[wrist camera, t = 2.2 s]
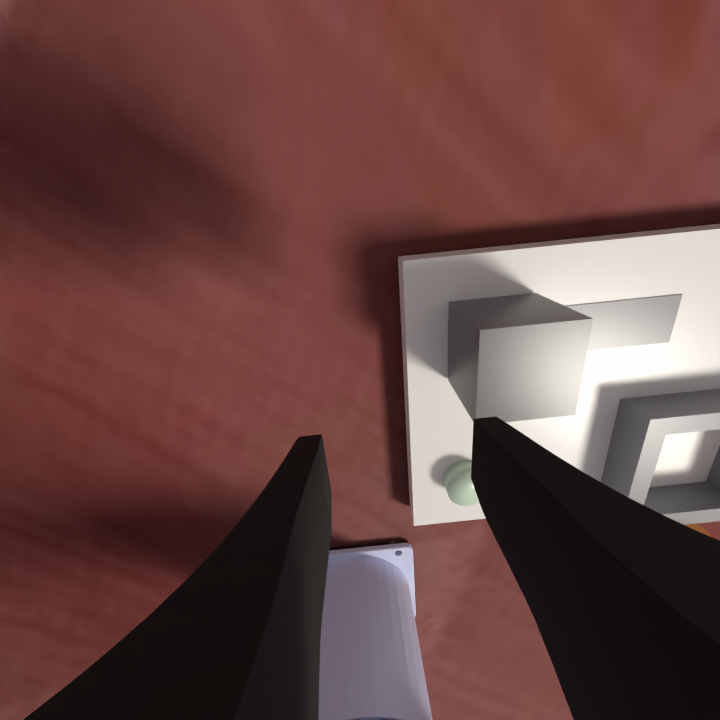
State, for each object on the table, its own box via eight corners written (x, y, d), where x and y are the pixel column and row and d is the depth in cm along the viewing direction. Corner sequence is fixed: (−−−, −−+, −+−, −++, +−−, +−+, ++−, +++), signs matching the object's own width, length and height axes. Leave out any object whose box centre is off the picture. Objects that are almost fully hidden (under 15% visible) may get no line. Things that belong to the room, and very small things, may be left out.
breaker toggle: (447, 379, 18) (475, 425, 14) (448, 301, 16) (479, 330, 12) (527, 371, 18) (575, 415, 14) (535, 292, 16) (593, 318, 12)
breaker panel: (409, 506, 23) (420, 555, 20) (397, 256, 17) (410, 268, 13) (711, 475, 23) (770, 518, 20) (816, 213, 17) (928, 215, 13)
